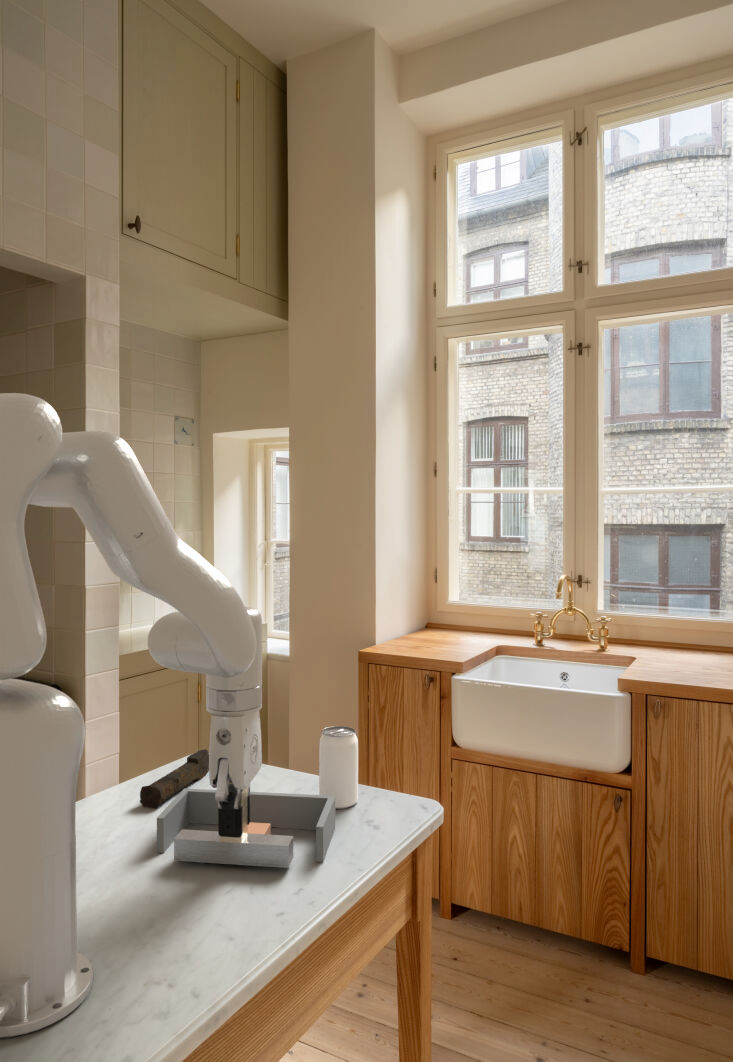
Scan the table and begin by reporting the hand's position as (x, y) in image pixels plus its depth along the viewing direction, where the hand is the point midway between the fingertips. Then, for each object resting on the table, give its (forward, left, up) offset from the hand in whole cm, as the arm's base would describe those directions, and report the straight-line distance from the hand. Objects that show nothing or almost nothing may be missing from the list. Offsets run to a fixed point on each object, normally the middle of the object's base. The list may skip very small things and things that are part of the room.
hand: (234, 828), depth 102 cm
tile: (+4, 0, -5) cm, 7 cm away
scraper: (0, 0, -4) cm, 4 cm away
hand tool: (+26, +18, -6) cm, 32 cm away
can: (+23, -11, -5) cm, 26 cm away
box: (+7, 0, -5) cm, 9 cm away
